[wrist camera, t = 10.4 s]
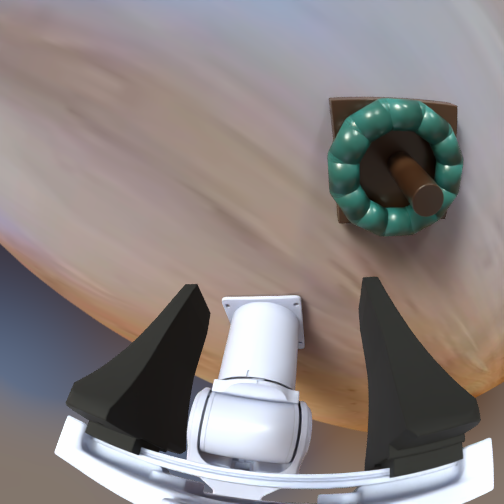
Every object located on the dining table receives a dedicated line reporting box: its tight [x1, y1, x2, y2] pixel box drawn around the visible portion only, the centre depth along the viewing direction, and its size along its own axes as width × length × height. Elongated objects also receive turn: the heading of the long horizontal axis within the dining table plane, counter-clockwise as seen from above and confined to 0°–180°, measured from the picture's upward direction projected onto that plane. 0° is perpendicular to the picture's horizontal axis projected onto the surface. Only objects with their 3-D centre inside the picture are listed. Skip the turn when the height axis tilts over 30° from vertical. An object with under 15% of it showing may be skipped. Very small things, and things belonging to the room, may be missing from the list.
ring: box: [327, 98, 463, 236], centre depth 15 cm, size 10×10×2 cm
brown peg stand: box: [329, 97, 457, 223], centre depth 14 cm, size 9×9×6 cm
